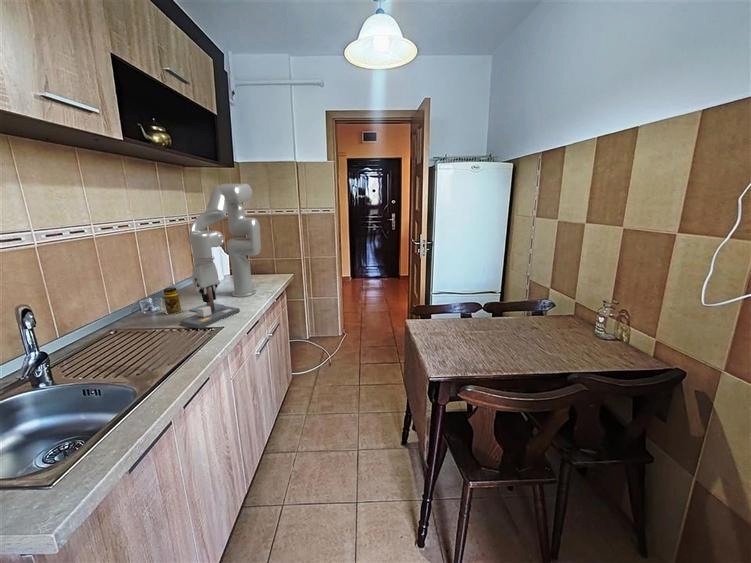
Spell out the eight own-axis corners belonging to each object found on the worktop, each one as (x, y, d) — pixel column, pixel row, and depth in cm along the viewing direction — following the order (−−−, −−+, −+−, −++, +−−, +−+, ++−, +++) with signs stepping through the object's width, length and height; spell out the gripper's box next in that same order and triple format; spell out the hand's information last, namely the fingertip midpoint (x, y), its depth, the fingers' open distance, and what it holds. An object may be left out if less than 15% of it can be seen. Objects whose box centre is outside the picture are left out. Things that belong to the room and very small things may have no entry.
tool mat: (210, 303, 175) (210, 302, 174) (224, 306, 170) (224, 304, 170) (189, 310, 164) (189, 309, 164) (203, 313, 160) (203, 312, 160)
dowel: (211, 309, 156) (207, 280, 153) (216, 310, 155) (212, 281, 151) (206, 311, 153) (201, 282, 150) (211, 312, 152) (206, 282, 149)
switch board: (221, 309, 166) (221, 305, 165) (239, 312, 161) (239, 308, 160) (180, 324, 146) (179, 320, 146) (199, 328, 142) (198, 324, 141)
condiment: (170, 315, 158) (166, 291, 155) (161, 312, 162) (156, 289, 159) (185, 311, 164) (181, 287, 161) (176, 308, 168) (172, 285, 165)
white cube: (205, 312, 154) (204, 305, 153) (211, 314, 152) (210, 306, 151) (197, 315, 150) (196, 308, 150) (203, 317, 149) (202, 309, 148)
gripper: (213, 257, 157) (218, 295, 162) (180, 264, 143) (187, 305, 147) (224, 258, 154) (230, 296, 159) (192, 265, 140) (199, 307, 144)
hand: (209, 300), depth 153 cm, fingers closed on dowel, 3 cm apart
